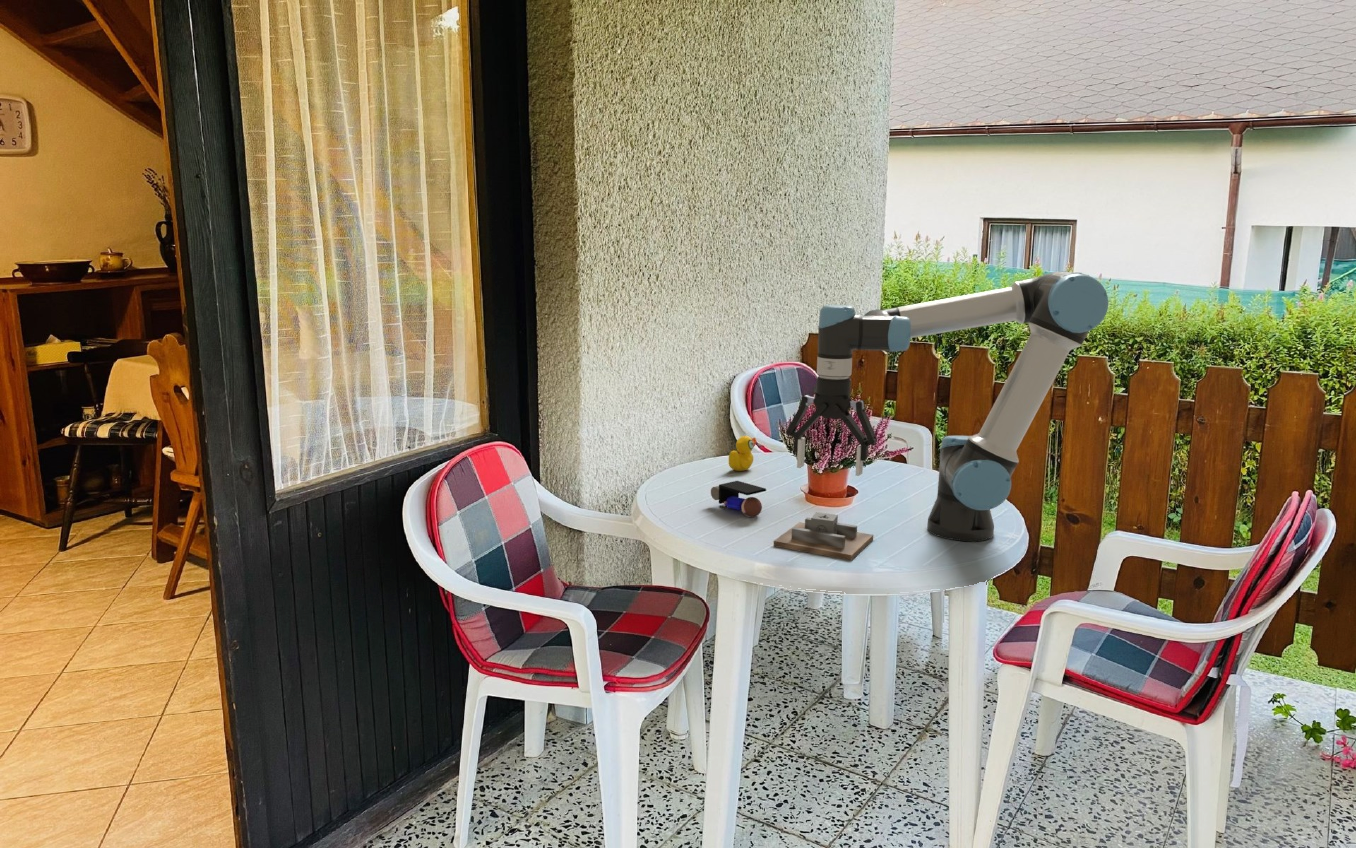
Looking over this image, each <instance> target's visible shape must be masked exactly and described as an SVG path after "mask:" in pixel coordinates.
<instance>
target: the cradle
mask: <svg viewBox="0 0 1356 848" xmlns="http://www.w3.org/2000/svg"><path fill="white" fill-rule="evenodd" d="M811 518H812V517H806V518H805V519H804V522H800V521H799V522H798V523H796V524H794V526H792V527H791V528H789V529H788V530H787V531H785V532H784V533H782V534H781V535H780V536H779V537H777V538H776V539H774V540H773V546H774V547H776V546H777V547H778V548H783V549H788V550H793V551H794V550H795V551H800V552H803V553H810V554H814V555H820V556H826V557H830V558H836V559H842V560H847V561H853V560H854V558H855V557H857V556H858V555H859V554H860V553H861V552H862V551H863V550H864V549H865V548H866V547H867V546H868V545H869V544H871V542H872V541H874V534H870V533H865V532H858V525H854V524H847V523H843V522H837V534H831V533H826V532H820V531H814V530H811Z"/></svg>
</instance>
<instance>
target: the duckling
mask: <svg viewBox="0 0 1356 848" xmlns="http://www.w3.org/2000/svg"><path fill="white" fill-rule="evenodd" d="M756 444H757V439H756V437H753V438H751V437H750V436H748V435H747V436H746V435H743V436H740V437H739V438H738V439H737V440H736V443H735V447H736V450H732V451H730V453H729V454H728V466H729V467H730V469H732V470H734V471H737V472H742V471H747V470H749V469H750V468H751V467H752V465H753V463H754V455H753V453H752V451H753V448H755V446H756Z"/></svg>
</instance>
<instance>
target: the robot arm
mask: <svg viewBox="0 0 1356 848" xmlns="http://www.w3.org/2000/svg"><path fill="white" fill-rule="evenodd" d="M1108 310H1109V296H1108V293H1107V291H1106V289H1105V287H1104V285H1103V284H1102V283H1101V282H1100V281H1099V280H1097V279H1096V278H1094V277H1092V276H1090V275H1089V274H1085V273H1082V272H1070V271H1064V270H1063V271H1062V270H1061V271H1054V272H1049V273H1046V274H1043V275H1039V276H1036V277H1032V278H1028V279H1022V280H1019V281H1018V280H1017V281H1014V282H1013V283H1012V284H1011V285H1010V286H1009V287H1004V288H1003V287H1002V288H999V289H993V290H987V291H982V292H976V293H970V294H964V295H958V296H953V297H948V298H942V299H937V300H931V301H925V302H920V303H919V302H918V303H914V304H907V305H901V306H898V307H891V308H886V309H879V308H878V309H873V310H869V311H867V312H866V313H864V314H863V315H861V314H860V315H859V314H856V312H855V311H856V309H855V307H854V306H853V305H852V306H851V305H844V304H829V305H827V304H826V305H824V306H822V307H821V308H820V310H819V318H818V320H819V321H818V326H817V327H818V329H817V330H818V332H817V333H818V334H817V360H816V374H817V375H818V376H817V377H816V381H815V382H816V383H815V397H814V396H811V395H810V394H806V395H804V396H802V397H801V401H800V406H799V408H798V409H797V411H796V413H795V415H794V417H793V418H792V419H791V420H792V421H791V422H790V423H789V426H788V427H787V429H786V431H785V433H786V435H787V436H790V437H792V438H793V452H794V453H797V455H796V456H797V457H796V469H797V468H798V469H801V468H802V467H804V466H805V454H806V453H805V452H806V437H803V435H804V434H805V433H806V432H807V431H808V430H809V429H810V428H811V427H812V426H813V425H814V424H815V423H816V422H817V421H818V420H819V418H821V417H822V418H823V419H833V420H839V419H840V420H841V421H842V422H843V423H844V424H845V426H846V427H847V428H848V430H849V431H850V433H851V434H852V435H853V436H854V438H855V439H856V441H857V442H858V444H859V445H857V446H856V457H855V458H856V460H855V461H856V462H855V476H857V477H860V475H862V474H863V470H864V469H863V468H864V462H866V461H867V460H868V458H869V457H868V456H869V447H870V446H873V445H874V444H876V443H877V442H878V438H877V436H876V433H875V431H874V429H873V426H872V424H871V421H870V418H869V417H868V414H867V411H866V407H865V401H864V400H863V399H860V400H855V401H854V400H853V401H852V400H851V393H852V392H851V388H852V379H851V377H850V376H851V375H852V373H853V370H852V369H853V351H875V352H876V351H879V352H881V351H882V352H891V353H895V352H905V351H908V349H909V347H910V344H911V343H910V342H911V339H912V338H919V337H925V336H926V337H927V336H931V335H932V336H933V335H937V334H943V333H949V332H955V331H961V330H966V329H972V328H980V327H985V326H991V325H997V324H1002V323H1008V322H1016V323H1018V324H1019V325H1024V324H1025V325H1026V324H1028V325H1027V326H1028V327H1029V331H1030V335H1029V337H1028V338H1027V340H1026V342H1025V344H1024V346H1023V348H1022V350H1021V352H1020V353H1019V356H1018V358H1017V359H1016V361H1015V364H1013V365H1014V366H1013V367H1012V370H1010V371H1011V372H1010V373H1009V374H1008V377H1007V379H1006V380H1005V382H1004V384H1003V386H1002V388H1001V390H1000V393H998V395H997V398H996V399H995V402H994V403H993V405H992V407H991V409H990V411H989V413H988V415H987V416H986V419H985V421H984V423H983V424H982V426H981V428H980V430H979V432H978V433H976V434H973V435H946V436H944V437H943V438H942V439H941V444H940V445H941V446H940V448H939V451H940V456H939V470H938V472H939V473H938V482H937V495H936V499H935V502H934V504H933V506H932V508H931V511H930V513H929V515H928V517H927V525H926V529H927V531H929V532H930V533H931V534H933V535H935V536H937V537H941V538H945V539H949V540H953V541H962V542H963V541H964V542H979V541H986V540H990V539H992V538H993V536H994V533H995V523H994V520H993V516H992V513H991V512H992V511H991V510H993V509H996V508H997V507H999V506H1001V505H1002V504H1003V503H1004V502H1005V501H1006V499H1008V497H1009V495H1010V493H1011V490H1012V475H1013V473H1014V472H1015V469H1016V468H1017V466H1018V464H1019V462H1020V460H1019V456H1018V453H1017V450H1018V448H1019V447H1020V444H1021V443H1022V441H1023V439H1024V437H1025V435H1026V434H1027V431H1028V430H1029V428H1030V426H1031V424H1032V423H1033V420H1034V418H1035V417H1036V414H1037V412H1038V411H1039V409H1040V407H1041V405H1042V403H1043V402H1044V400H1045V398H1046V396H1047V395H1048V392H1049V390H1050V388H1051V387H1052V385H1053V383H1054V381H1055V379H1056V378H1057V375H1058V374H1059V372H1060V370H1061V368H1062V366H1063V364H1064V362H1065V361H1066V359H1067V357H1068V355H1069V353H1070V352H1071V351H1072V350H1074V349H1077V348H1079V347H1081V346H1082V345H1083V343H1084V342H1085V339H1086V337H1087V335H1088V334H1089V332H1091V331H1092V330H1094V329H1095V328H1096V327H1098V326H1099V325H1100V324H1101V323H1102V322H1103V320H1104V319H1105V317H1106V316H1107V313H1108ZM812 404H813V405H814V406H815V408H816V410H815V411H814V412H813V414H811V416H810V417H809V418H807V420H806V421H805V422H804V423H803V424H802V426H801V427H799V425H800V423H801V421H802V419H803V417H804V416H805V414H806V412H807V411H808V409H809V407H810V406H812ZM851 408H853V410H854V411H855V412H856V415H857V418H858V420H859V422H860V425H861V427H862V430H861V428H860V427H859V425H858V423H856V421H855V419H854V418H853V415H852V414H851V413H850V411H849V410H850V409H851ZM798 427H799V429H798V430H797V428H798Z"/></svg>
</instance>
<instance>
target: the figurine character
mask: <svg viewBox="0 0 1356 848" xmlns="http://www.w3.org/2000/svg"><path fill="white" fill-rule="evenodd" d="M764 492H767V488H765V487H763V486H758V485H754V484H751V483H747V482H744V481H739V480H733V481H729V482H726V483H725V482H724V483H721V484H718V485H716V486H712V487H711V489H710V496H711V497H712V499H713V500H714V501H718V504H719V508H722V509H733V510H735V511H741V512H742V513H743V514H744V515H745V516H746V517H748V518H755V517H758V516H759V515H760V514H761V512H762V510H763V504H762V501H761V500H760V499H759V498H758V497H754V496H751V495H755V494H760V493H764ZM740 494H741V495H745V496H749V497H746V498H742V497H740ZM721 504H723V505H721Z"/></svg>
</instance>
